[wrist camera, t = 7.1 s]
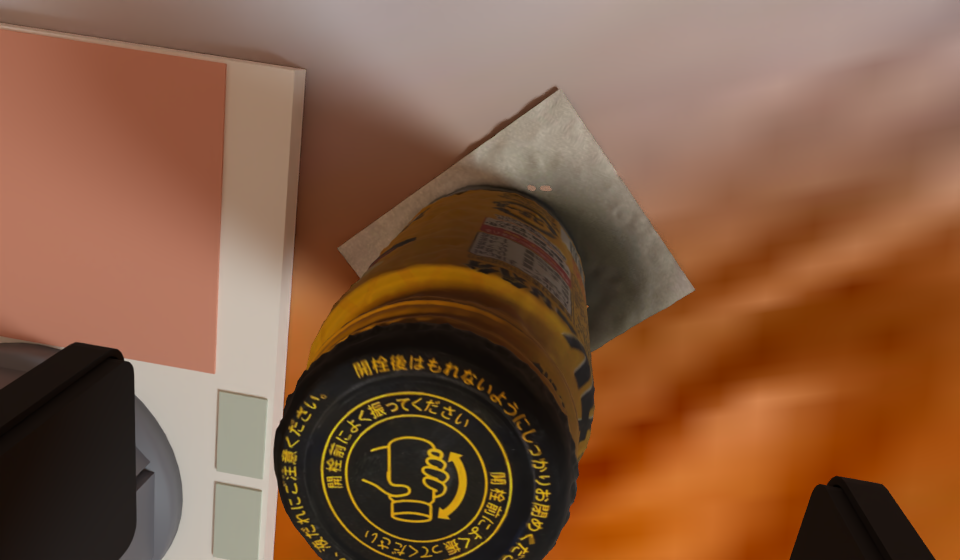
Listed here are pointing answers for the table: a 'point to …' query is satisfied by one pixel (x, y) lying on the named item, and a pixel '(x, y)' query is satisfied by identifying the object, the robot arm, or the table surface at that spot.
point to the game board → (158, 261)
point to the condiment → (471, 353)
